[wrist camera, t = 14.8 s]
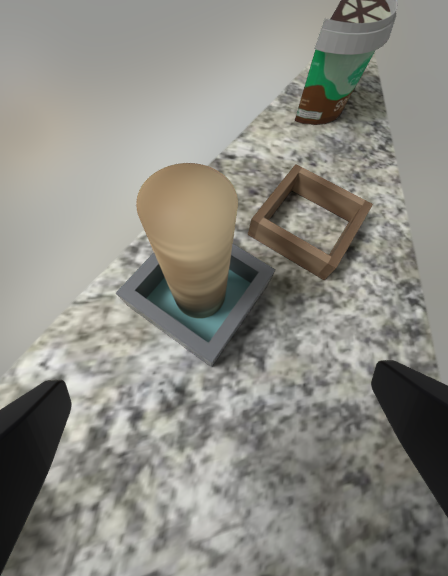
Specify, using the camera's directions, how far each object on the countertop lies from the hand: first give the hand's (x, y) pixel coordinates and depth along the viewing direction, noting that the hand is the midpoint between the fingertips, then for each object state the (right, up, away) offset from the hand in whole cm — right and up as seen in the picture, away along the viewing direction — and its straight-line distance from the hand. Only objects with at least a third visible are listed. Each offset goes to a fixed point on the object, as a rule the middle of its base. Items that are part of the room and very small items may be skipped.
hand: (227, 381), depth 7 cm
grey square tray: (-2, +2, +15) cm, 16 cm away
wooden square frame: (+8, +9, +19) cm, 23 cm away
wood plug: (-2, +2, +15) cm, 16 cm away
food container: (+14, +27, +27) cm, 40 cm away
